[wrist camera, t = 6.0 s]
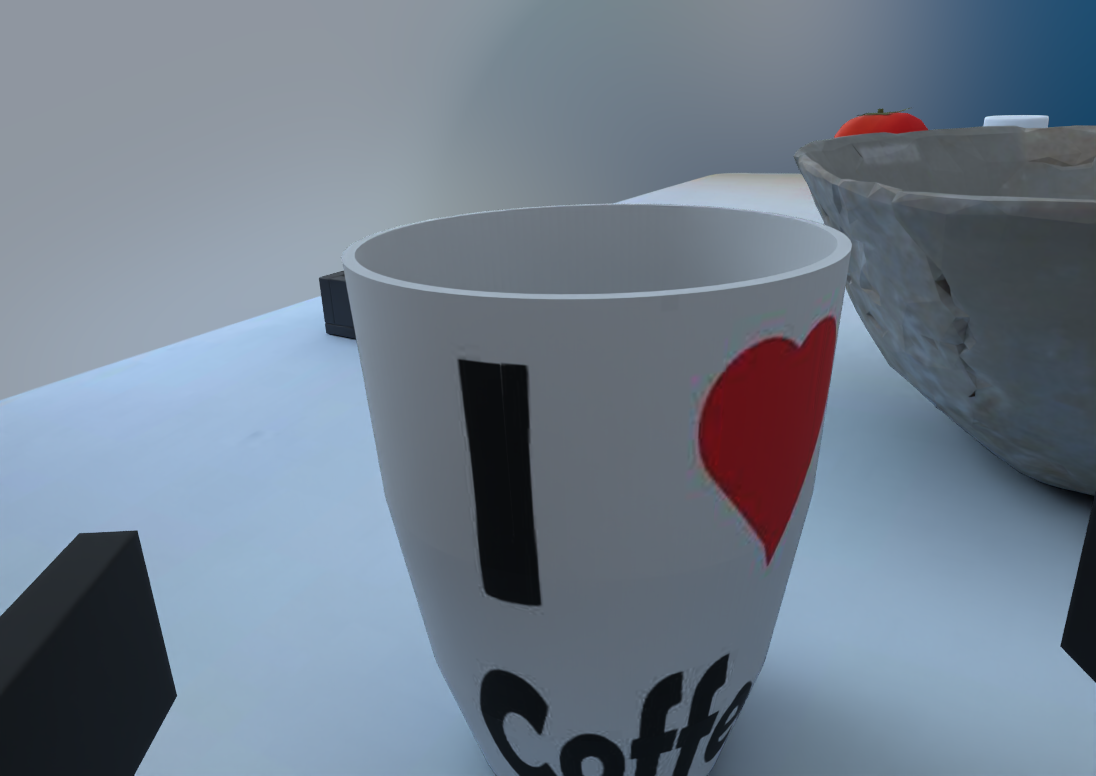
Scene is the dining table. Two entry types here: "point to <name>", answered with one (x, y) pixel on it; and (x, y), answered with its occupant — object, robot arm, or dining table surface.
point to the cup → (599, 462)
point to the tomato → (881, 124)
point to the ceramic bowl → (978, 278)
